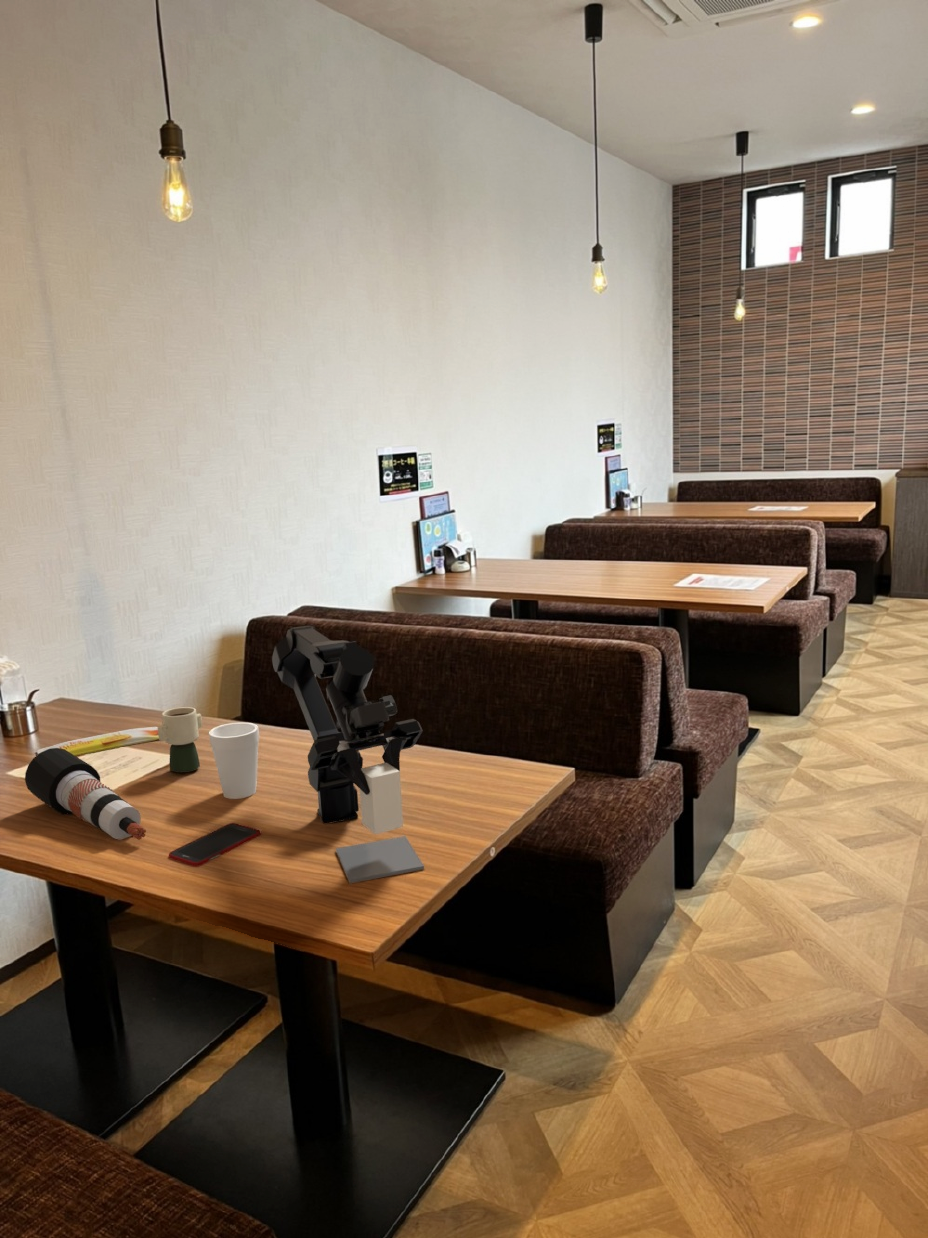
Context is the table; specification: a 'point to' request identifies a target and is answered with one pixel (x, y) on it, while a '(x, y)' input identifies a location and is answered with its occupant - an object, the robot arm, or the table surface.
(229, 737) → the foam cup
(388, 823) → the cream block
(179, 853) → the cell phone
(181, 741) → the character mug
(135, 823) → the cable
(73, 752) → the food package
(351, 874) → the slate coaster
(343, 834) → the table surface
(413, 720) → the robot arm
